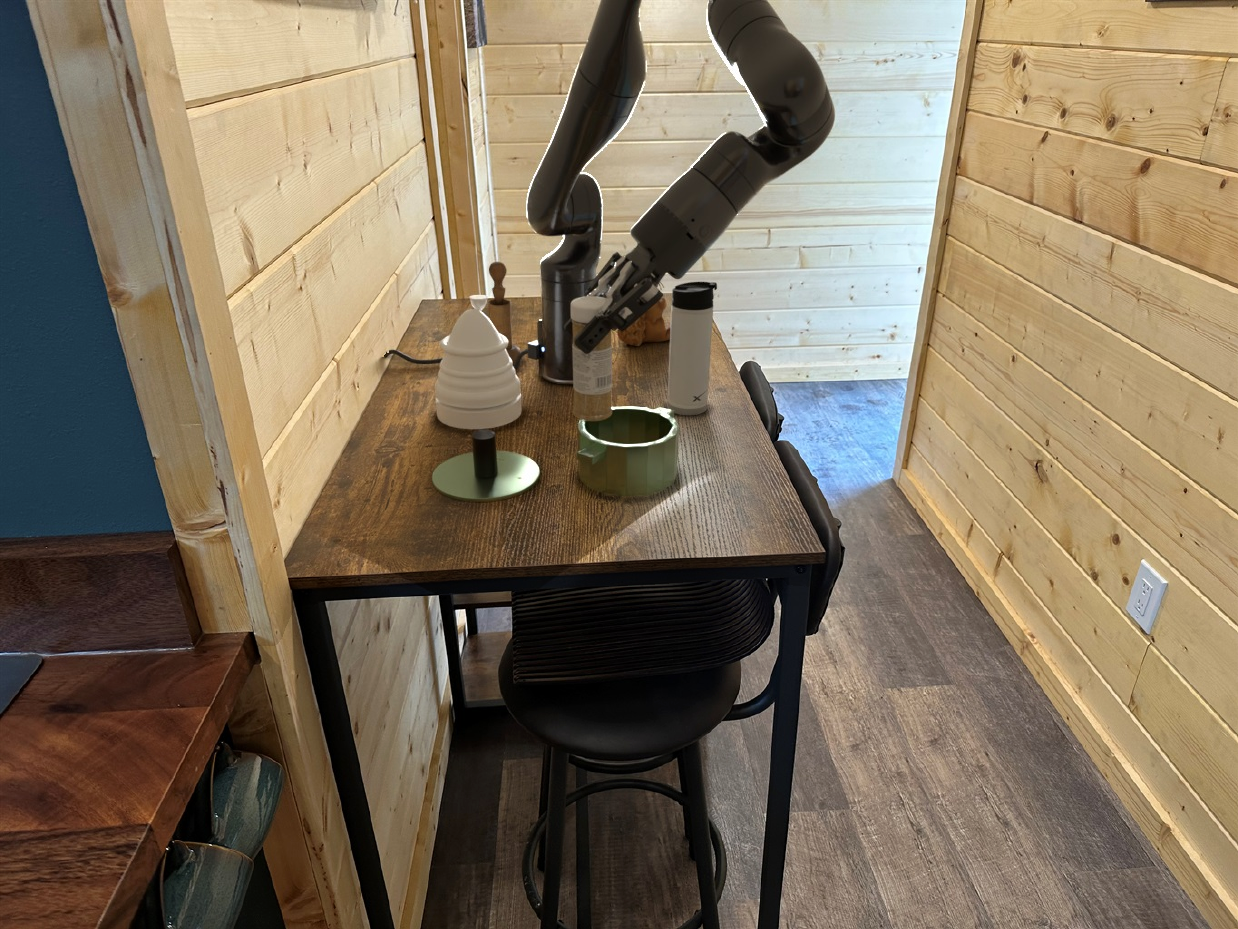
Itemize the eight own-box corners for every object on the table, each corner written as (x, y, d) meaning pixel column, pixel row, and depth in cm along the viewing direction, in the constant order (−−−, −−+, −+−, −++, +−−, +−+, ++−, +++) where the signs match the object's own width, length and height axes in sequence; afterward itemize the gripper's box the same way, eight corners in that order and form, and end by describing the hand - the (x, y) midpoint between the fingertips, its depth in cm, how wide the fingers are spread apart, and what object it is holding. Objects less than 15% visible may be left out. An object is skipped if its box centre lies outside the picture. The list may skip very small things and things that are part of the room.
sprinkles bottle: (602, 405, 98) (601, 293, 92) (619, 418, 94) (619, 303, 88) (566, 411, 96) (563, 297, 90) (582, 425, 93) (580, 308, 87)
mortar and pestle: (504, 371, 145) (499, 268, 137) (476, 364, 148) (469, 263, 140) (528, 360, 150) (524, 260, 142) (500, 354, 153) (494, 256, 145)
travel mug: (707, 417, 127) (715, 289, 118) (664, 414, 128) (669, 286, 119) (711, 402, 133) (719, 278, 124) (670, 399, 134) (675, 276, 125)
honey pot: (463, 395, 134) (455, 285, 126) (535, 406, 131) (531, 293, 123) (420, 425, 123) (408, 306, 115) (498, 437, 120) (491, 316, 112)
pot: (545, 488, 106) (543, 436, 103) (627, 441, 119) (628, 393, 116) (626, 519, 99) (627, 463, 96) (704, 465, 112) (707, 415, 109)
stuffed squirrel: (680, 335, 164) (683, 269, 158) (640, 354, 154) (641, 284, 148) (638, 326, 169) (640, 262, 163) (597, 344, 159) (597, 275, 153)
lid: (410, 485, 106) (404, 438, 103) (485, 448, 116) (482, 405, 113) (487, 517, 99) (484, 468, 96) (561, 476, 109) (560, 430, 106)
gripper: (642, 189, 93) (539, 301, 95) (681, 210, 80) (562, 339, 83) (685, 235, 96) (584, 342, 99) (729, 262, 84) (613, 384, 86)
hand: (575, 340), depth 91 cm, fingers closed on sprinkles bottle, 4 cm apart
